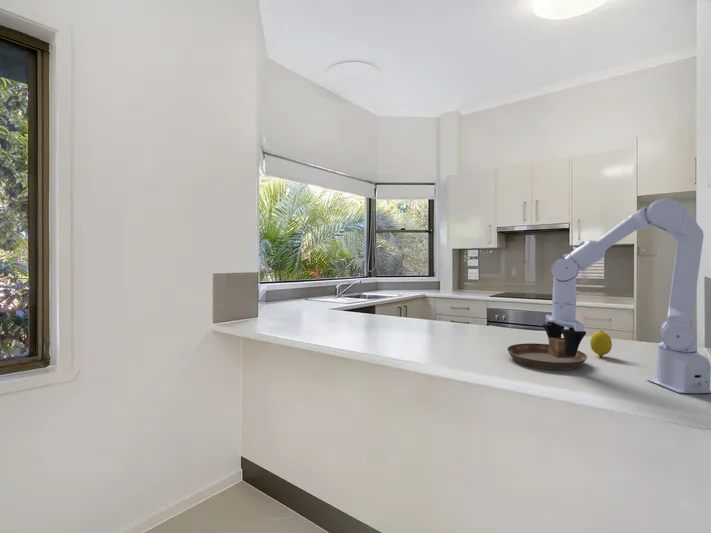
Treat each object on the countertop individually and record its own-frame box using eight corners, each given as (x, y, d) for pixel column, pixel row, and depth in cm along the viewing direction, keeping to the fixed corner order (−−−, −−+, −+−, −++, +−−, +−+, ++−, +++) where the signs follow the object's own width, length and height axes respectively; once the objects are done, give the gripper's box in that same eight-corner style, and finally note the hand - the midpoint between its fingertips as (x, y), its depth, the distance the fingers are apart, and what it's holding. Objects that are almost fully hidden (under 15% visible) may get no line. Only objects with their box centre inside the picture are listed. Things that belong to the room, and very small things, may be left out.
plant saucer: (541, 376, 99) (541, 363, 99) (492, 355, 119) (492, 344, 118) (605, 370, 104) (605, 358, 104) (548, 351, 124) (548, 341, 124)
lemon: (614, 359, 114) (615, 332, 114) (594, 358, 115) (594, 331, 115) (606, 354, 120) (607, 329, 119) (586, 353, 121) (587, 328, 120)
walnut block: (574, 357, 104) (574, 341, 104) (557, 357, 104) (558, 341, 104) (564, 353, 109) (564, 337, 109) (548, 353, 109) (549, 337, 108)
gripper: (536, 299, 113) (534, 346, 113) (565, 306, 98) (564, 359, 99) (559, 300, 113) (558, 345, 114) (592, 306, 99) (590, 359, 99)
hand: (562, 352), depth 106 cm, fingers open, 7 cm apart
